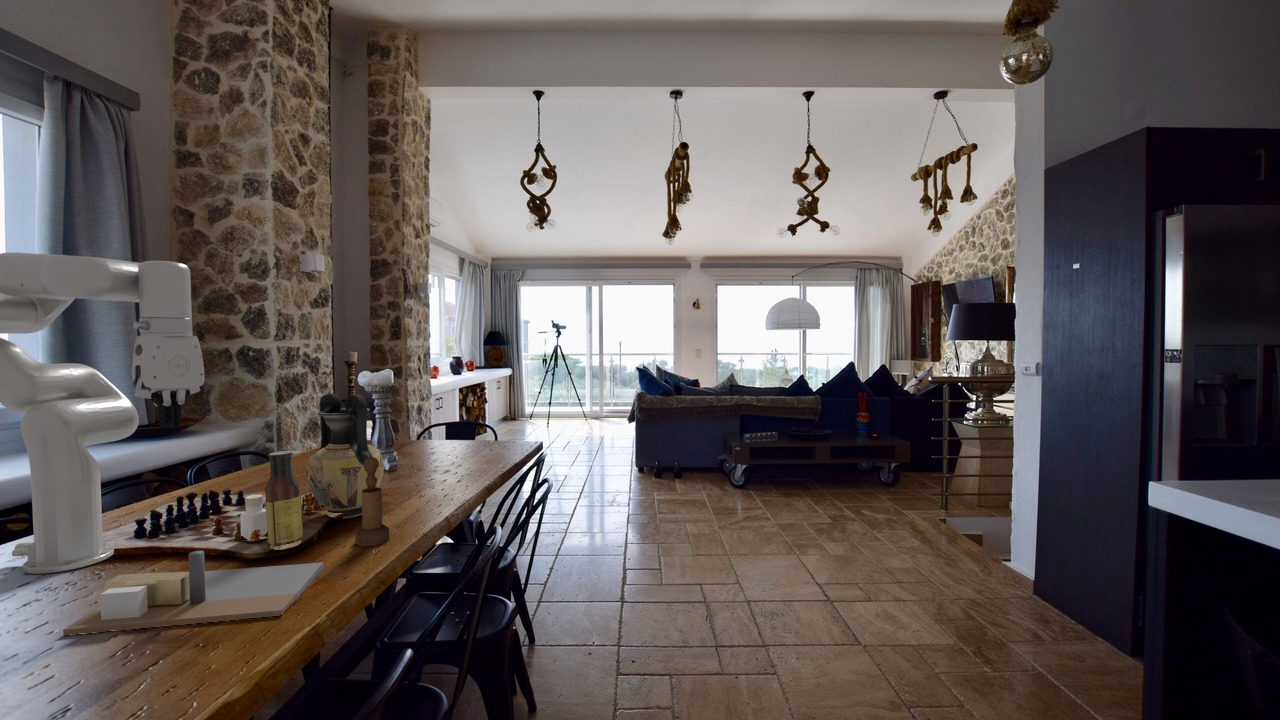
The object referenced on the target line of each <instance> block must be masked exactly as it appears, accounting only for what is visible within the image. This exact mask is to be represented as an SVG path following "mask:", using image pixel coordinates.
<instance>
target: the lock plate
mask: <svg viewBox="0 0 1280 720" xmlns="http://www.w3.org/2000/svg"><path fill="white" fill-rule="evenodd" d="M187 556H188V572H189V586H190V599H188V600H187V601H185V602H184V603H182V604H170V605H148V604H147V586H136V587H123V588H110V589H108V590H106V591H105V590H104V591H103V592H101V593H100V597H99V598H100V605H99V606H98V607H96V608H95V609H93V610H91V611H90V612H88V613H87V614H85V615H84V616H82V617H81V618H79V619H77V620H76V621H74V622H73V623H70V625H68V626H67V627H65V628H63V629H62V632H63V634H62V635H70V634H79V633H92V632H104V633H106V632H105V631H111V630H126V631H132V630H131V629H137V630H140V629H139V628H147V627H148V629H150V628H149V627H155V626H162V625H178V624H179V625H180V624H192V625H197V624H196V623H203V624H208V623H207V622H214V623H219V622H218V621H225V622H231V621H230V620H236V621H240V620H239V619H246V618H257V617H269V616H274V615H282V614H283V613H284V612H285V610H286V609H287V608H288V607H289V606H290V605H291V604H292V603H293V602H294V601H295V600H296V601H297V600H298V598H299V597H300V596H301V595H302V594H303V592H305V590H306V589H307V588H308V587H309V585H310V584H311V583H312V582H313V581H314V579H316V577H317V576H318V575H319V574H320V573H321V571H322V570H323V569H324V566H325V565H324V562H312V563H311V562H310V563H296V564H285V565H273V566H272V565H271V566H261V567H243V568H233V569H232V568H231V569H219V570H207V571H206V569H205V551H204V550H195V551H191V552H189V553H188V555H187ZM307 586H308V587H307ZM306 587H307V588H306ZM301 593H302V594H301ZM296 601H295V602H296ZM295 602H294V603H295ZM294 603H293V604H294ZM293 604H292V605H293ZM292 605H291V606H292ZM285 613H286V612H285ZM269 618H270V617H269Z"/></svg>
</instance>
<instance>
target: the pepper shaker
mask: <svg viewBox="0 0 1280 720" xmlns="http://www.w3.org/2000/svg"><path fill="white" fill-rule="evenodd" d="M244 502H245V504H244V505H245V511H243V512H242V513H240V517H239V518H240V537H241V536H243V537H245V538H246V539H248V540H249V539H250V537H251V534H252V532H253V531H255V530H260V532H261V534H262V535H265V534H266V533H267V517H266V508H264V507H263V506H264V495H262V494H251V495H248V496H247V495H246V496H245V498H244Z"/></svg>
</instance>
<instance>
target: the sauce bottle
mask: <svg viewBox="0 0 1280 720" xmlns="http://www.w3.org/2000/svg"><path fill="white" fill-rule="evenodd" d="M292 458H293V455H292V452H291V451H289V450H283V451H275V452H270V453H269V454H268V462H269V465H270V472H269V473H270V477H269V480H268V481H267V483H266V485H265V487H264V489H265V490H264V491H265V509H266V517H267V532H268V538H267V543H268V544H270V545H272V546H280V545H286V544H290V543H294V542H297V541H299V540H301V539H302V540H303V535H304V531H303V529H304V528H303V527H304V526H303V516H302V513H303V512H302V500H301V499H302V497H301V489H300V486H299V484H298V482H297V479H296V477H295V474H294V473H293V469H292Z"/></svg>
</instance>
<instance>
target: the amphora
mask: <svg viewBox="0 0 1280 720" xmlns="http://www.w3.org/2000/svg"><path fill="white" fill-rule="evenodd" d="M370 411H371V409H370V408H369V407H368V403H367V402H366V399H365V398H364V396H363V395H361V394H358V393H353V394H350V395H348V396H347V397H346V399H345V401H344V407H342V402H341V398H340V397H339V396H338V394H336V393H333V392H330V393H325V394H324V395H322V397H320V399H319V411H318V412H317V415H318V416H319V420H320V435H321V436H320V438H321V439H320V448H319V450H317V451H316V452H314V453H313V454H312V455H311V456H310V458H309V460H308V462H307V466H306V481H307V484H308V487H309V490H310V492H311V494H312V495H313V497H314V499H315V500H316V501H317V502H318V503H320V504H321V505H322V506H323V507H325V508H326V510H327V512H330V513H331V512H332V513H344V516H343V519H351V518H355V517H359V516H362V490H364V489H367V485H366V481H365V479H367V476H368V474H367V472H366V470H365V469H364V467H363V463H364V461H365V460H366V459H367V458H370V457H374V458H376V459H377V460H378V462H379V466H378V468H377V470H376V472H375V477H376V478H377V483H376V487H378V488H380V486H381V483H382V480H383V475H384V470H385V469H384V459H383V456H382V454H381V452H380V451H379V449H378V448H376V447H375V446H373V445H371V444H368V434H367V433H368V431H367V429H368V427H367V425H368V423H367V422H368V413H369V412H370Z"/></svg>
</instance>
